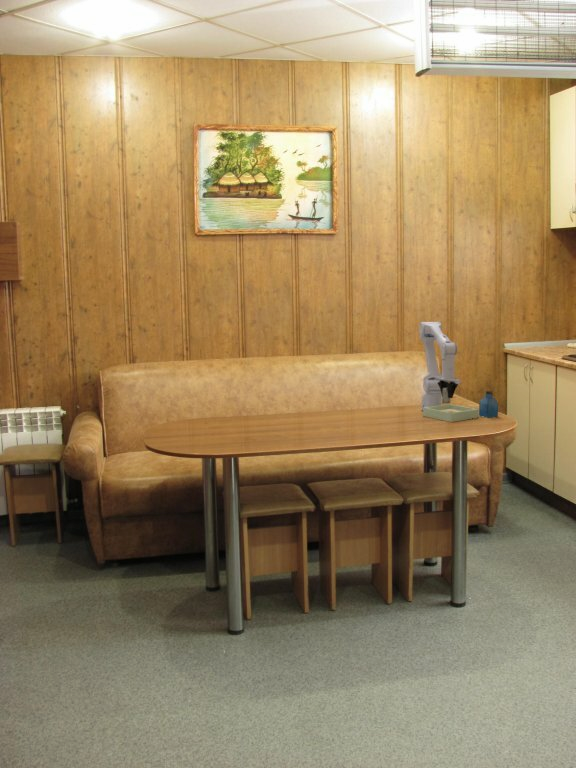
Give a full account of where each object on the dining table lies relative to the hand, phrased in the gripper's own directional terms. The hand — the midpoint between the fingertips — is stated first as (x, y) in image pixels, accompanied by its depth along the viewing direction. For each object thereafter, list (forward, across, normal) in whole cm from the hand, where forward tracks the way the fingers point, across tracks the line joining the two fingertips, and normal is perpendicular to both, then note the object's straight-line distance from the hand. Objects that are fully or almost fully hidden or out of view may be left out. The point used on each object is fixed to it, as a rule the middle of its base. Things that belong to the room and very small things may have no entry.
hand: (447, 397), depth 377 cm
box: (+9, +1, +2) cm, 10 cm away
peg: (+2, 0, 0) cm, 2 cm away
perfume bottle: (+10, +10, +18) cm, 22 cm away
